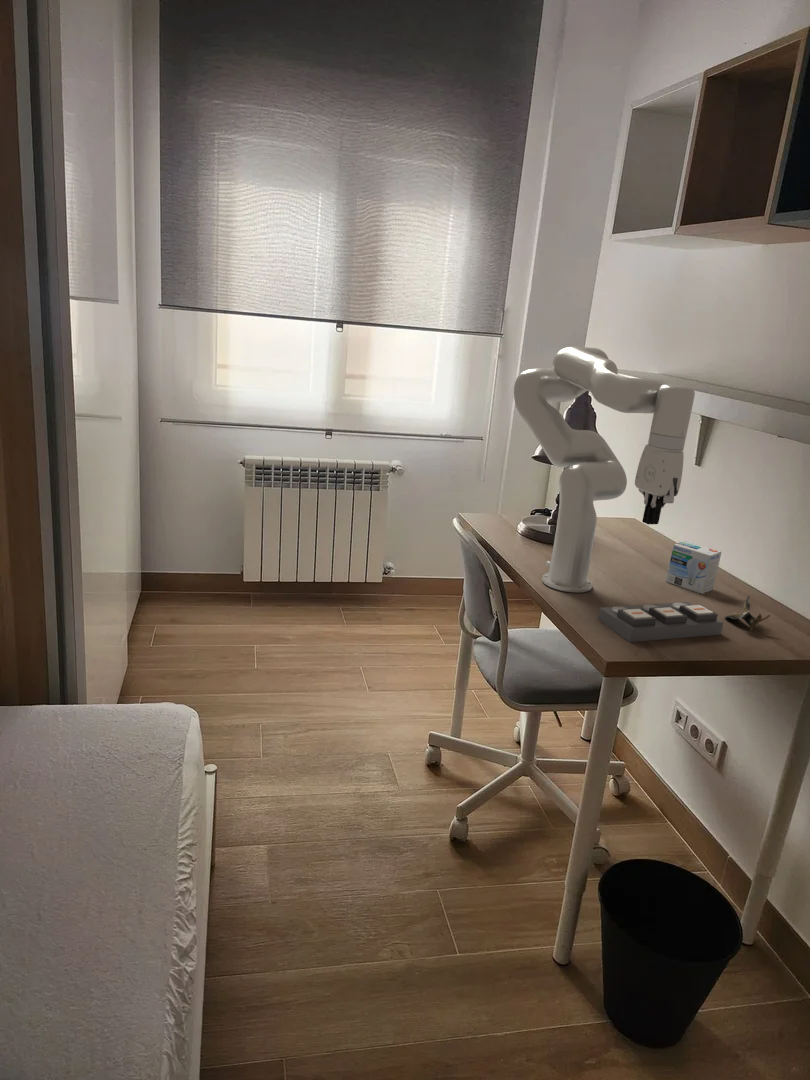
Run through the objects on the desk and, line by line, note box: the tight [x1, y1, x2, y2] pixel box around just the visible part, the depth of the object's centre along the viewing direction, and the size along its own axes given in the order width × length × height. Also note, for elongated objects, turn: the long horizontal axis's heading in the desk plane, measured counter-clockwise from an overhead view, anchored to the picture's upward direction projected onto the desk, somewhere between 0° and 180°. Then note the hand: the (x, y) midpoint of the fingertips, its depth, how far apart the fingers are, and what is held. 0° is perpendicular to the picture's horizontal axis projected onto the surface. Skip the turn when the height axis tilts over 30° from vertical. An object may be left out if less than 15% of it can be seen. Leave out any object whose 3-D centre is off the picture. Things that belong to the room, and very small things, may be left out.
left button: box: [623, 609, 652, 619], centre depth 170 cm, size 4×4×2 cm
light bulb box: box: [665, 540, 722, 595], centre depth 205 cm, size 11×7×11 cm, turn 45°
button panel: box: [597, 601, 724, 643], centre depth 176 cm, size 12×25×5 cm, turn 111°
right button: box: [685, 604, 714, 615], centre depth 177 cm, size 4×4×2 cm
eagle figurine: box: [724, 595, 771, 632], centre depth 182 cm, size 8×7×9 cm
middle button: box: [654, 607, 683, 617], centre depth 173 cm, size 4×4×2 cm
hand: (650, 523), depth 174 cm, fingers closed
